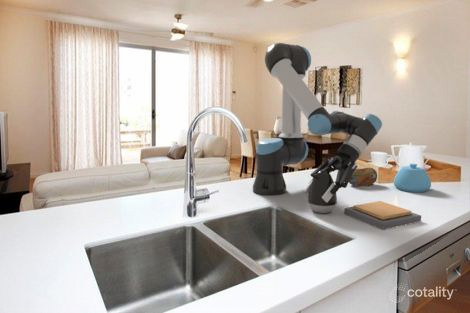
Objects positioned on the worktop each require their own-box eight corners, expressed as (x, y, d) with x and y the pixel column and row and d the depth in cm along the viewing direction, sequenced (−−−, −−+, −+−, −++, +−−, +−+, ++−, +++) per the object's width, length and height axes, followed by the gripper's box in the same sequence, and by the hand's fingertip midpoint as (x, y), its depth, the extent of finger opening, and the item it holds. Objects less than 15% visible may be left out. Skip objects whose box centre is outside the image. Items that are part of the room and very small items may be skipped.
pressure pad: (353, 208, 114) (353, 205, 114) (380, 203, 119) (380, 200, 119) (382, 219, 103) (383, 216, 103) (411, 213, 108) (411, 211, 108)
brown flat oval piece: (350, 187, 152) (350, 169, 151) (346, 185, 155) (346, 168, 154) (377, 184, 156) (378, 167, 155) (372, 183, 159) (373, 166, 158)
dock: (344, 213, 116) (344, 207, 115) (379, 206, 122) (379, 201, 122) (382, 229, 100) (383, 223, 100) (420, 221, 107) (421, 215, 107)
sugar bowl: (397, 183, 159) (399, 160, 157) (433, 188, 149) (435, 163, 147) (389, 189, 147) (391, 164, 145) (427, 195, 138) (429, 168, 136)
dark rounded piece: (301, 209, 121) (302, 169, 119) (323, 205, 125) (324, 166, 123) (319, 217, 112) (320, 174, 109) (342, 213, 116) (344, 171, 114)
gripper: (380, 160, 112) (342, 211, 108) (336, 152, 132) (302, 195, 128) (369, 146, 109) (330, 198, 105) (326, 140, 129) (291, 183, 125)
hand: (315, 196), depth 116 cm, fingers closed on dark rounded piece, 9 cm apart
